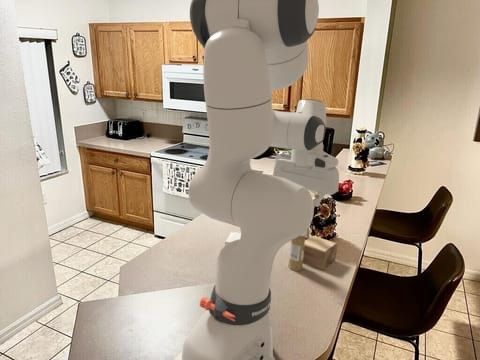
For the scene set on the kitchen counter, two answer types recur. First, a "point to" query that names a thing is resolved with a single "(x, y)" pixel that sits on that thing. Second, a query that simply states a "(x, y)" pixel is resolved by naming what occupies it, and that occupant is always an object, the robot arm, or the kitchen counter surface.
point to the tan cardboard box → (319, 252)
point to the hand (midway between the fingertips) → (302, 201)
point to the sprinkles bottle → (297, 252)
